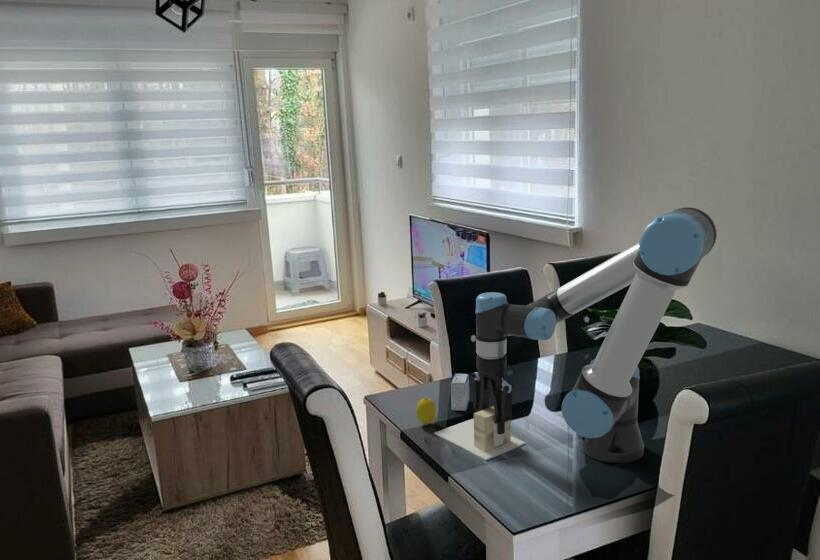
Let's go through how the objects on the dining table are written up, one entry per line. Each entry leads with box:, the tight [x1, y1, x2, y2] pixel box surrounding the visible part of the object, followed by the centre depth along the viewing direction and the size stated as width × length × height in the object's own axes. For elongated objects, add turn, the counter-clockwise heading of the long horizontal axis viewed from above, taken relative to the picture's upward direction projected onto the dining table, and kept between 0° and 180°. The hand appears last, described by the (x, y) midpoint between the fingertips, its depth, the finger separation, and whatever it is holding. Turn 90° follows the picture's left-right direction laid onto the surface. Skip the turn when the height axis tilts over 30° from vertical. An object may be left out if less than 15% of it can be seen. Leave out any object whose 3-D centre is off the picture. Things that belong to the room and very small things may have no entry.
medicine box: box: [450, 373, 470, 412], centre depth 195 cm, size 8×4×9 cm, turn 168°
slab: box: [473, 405, 512, 452], centre depth 169 cm, size 9×4×9 cm, turn 127°
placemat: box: [433, 418, 526, 462], centre depth 174 cm, size 20×14×1 cm
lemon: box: [415, 397, 437, 426], centre depth 183 cm, size 6×6×8 cm
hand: (492, 441), depth 170 cm, fingers closed on slab, 4 cm apart
